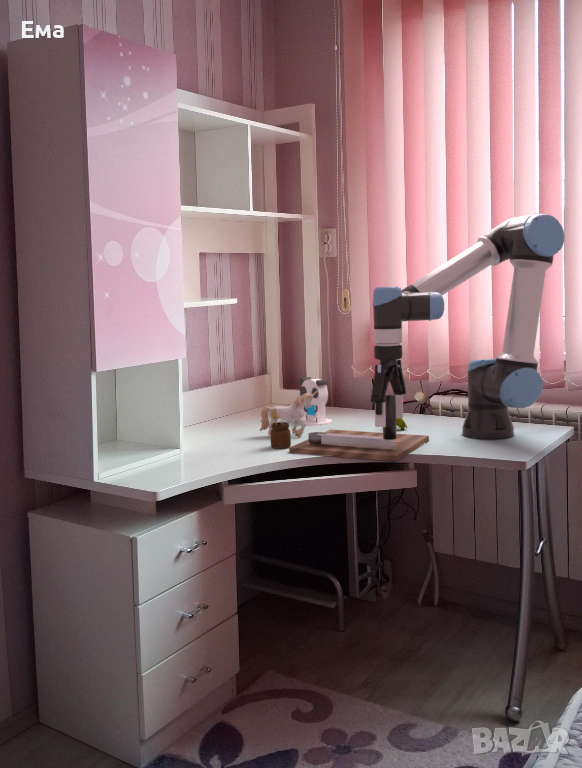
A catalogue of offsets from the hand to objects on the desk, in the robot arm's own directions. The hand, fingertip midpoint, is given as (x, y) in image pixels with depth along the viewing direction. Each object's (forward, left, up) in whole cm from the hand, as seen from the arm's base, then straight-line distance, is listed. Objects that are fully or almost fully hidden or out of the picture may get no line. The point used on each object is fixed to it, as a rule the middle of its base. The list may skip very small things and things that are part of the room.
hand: (389, 422), depth 217 cm
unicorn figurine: (+40, -18, -10) cm, 45 cm away
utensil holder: (+34, 0, -9) cm, 35 cm away
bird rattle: (+12, -37, -10) cm, 40 cm away
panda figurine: (+42, -40, -10) cm, 59 cm away
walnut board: (+12, -8, -9) cm, 17 cm away
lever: (+11, 0, -7) cm, 13 cm away
